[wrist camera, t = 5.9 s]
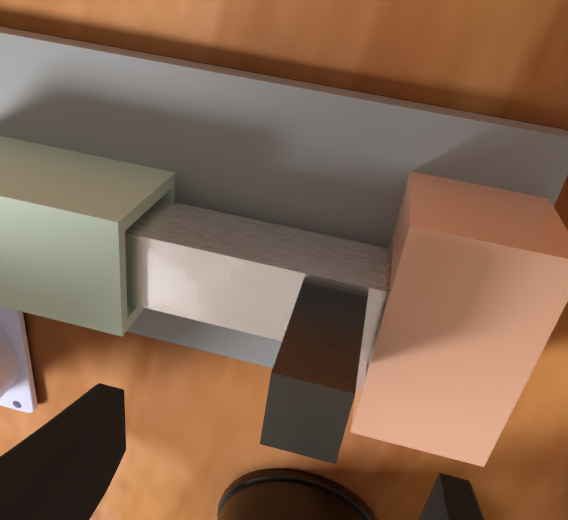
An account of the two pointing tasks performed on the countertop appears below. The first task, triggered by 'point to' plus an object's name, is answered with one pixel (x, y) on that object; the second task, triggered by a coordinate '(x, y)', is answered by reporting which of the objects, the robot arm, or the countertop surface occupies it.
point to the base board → (260, 147)
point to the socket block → (461, 316)
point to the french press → (289, 498)
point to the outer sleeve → (71, 232)
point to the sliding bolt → (270, 306)
